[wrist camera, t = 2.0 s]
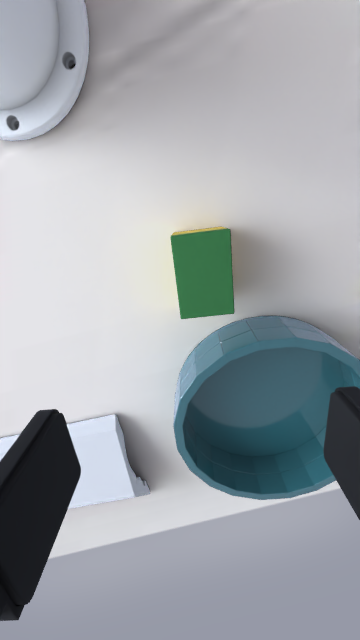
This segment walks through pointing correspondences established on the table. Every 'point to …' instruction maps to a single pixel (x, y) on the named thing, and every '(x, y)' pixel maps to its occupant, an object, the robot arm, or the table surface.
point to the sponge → (203, 272)
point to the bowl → (260, 406)
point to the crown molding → (98, 462)
